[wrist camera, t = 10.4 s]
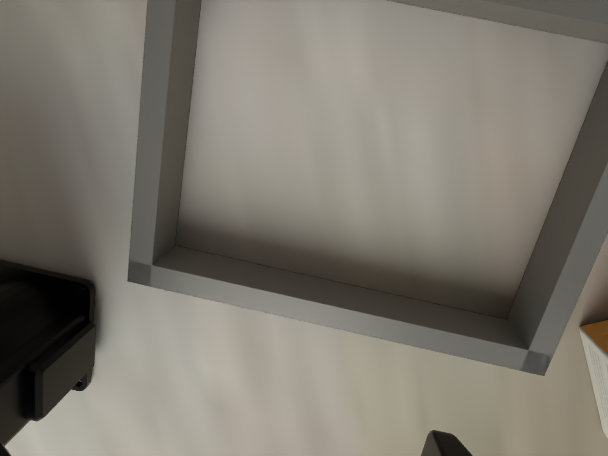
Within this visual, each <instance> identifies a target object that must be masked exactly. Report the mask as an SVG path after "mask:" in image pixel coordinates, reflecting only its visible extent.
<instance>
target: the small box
mask: <svg viewBox="0 0 608 456" xmlns="http://www.w3.org/2000/svg"><path fill="white" fill-rule="evenodd" d="M579 331H580V334H581V339H582V343H583V347H584V351H585V355H586V360H587V364H588V368H589V372H590V376H591V381H592V385H593V390H594V395H595V399H596V403H597V407H598V411H599V415H600V419H601V424H602V429H603V432H604V433H605V435H606V436H607V438H608V320H606V321H601V322H597V323H592V324H588V325H584V326H581V327H580V328H579Z"/></svg>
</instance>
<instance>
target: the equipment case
mask: <svg viewBox="0 0 608 456" xmlns="http://www.w3.org/2000/svg"><path fill="white" fill-rule="evenodd" d="M388 1H393V2H398V3H403V4H408V5H413V6H418V7H423V8H429V9H434V10H439V11H444V12H449V13H454V14H459V15H464V16H469V17H475V18H480V19H485V20H490V21H495V22H500V23H505V24H510V25H515V26H521V27H526V28H531V29H536V30H541V31H546V32H551V33H556V34H561V35H566V36H572V37H577V38H582V39H587V40H592V41H597V42H602V43H607V44H608V0H388ZM200 7H201V0H148V2H147V16H146V30H145V44H144V58H143V72H142V86H141V100H140V114H139V128H138V142H137V156H136V170H135V184H134V198H133V212H132V226H131V240H130V254H129V268H128V282H133V283H137V284H142V285H146V286H150V287H155V288H159V289H164V290H168V291H172V292H177V293H181V294H186V295H190V296H194V297H199V298H203V299H208V300H212V301H216V302H221V303H225V304H230V305H234V306H238V307H243V308H247V309H252V310H256V311H260V312H265V313H269V314H274V315H278V316H282V317H287V318H291V319H296V320H300V321H304V322H309V323H313V324H317V325H322V326H326V327H331V328H335V329H339V330H344V331H348V332H353V333H357V334H361V335H366V336H370V337H375V338H379V339H383V340H388V341H392V342H397V343H401V344H405V345H410V346H414V347H419V348H423V349H427V350H432V351H436V352H441V353H445V354H449V355H454V356H458V357H463V358H467V359H471V360H476V361H480V362H485V363H489V364H493V365H498V366H502V367H507V368H511V369H515V370H520V371H524V372H528V373H533V374H537V375H542V376H544V375H545V373H546V371H547V368H548V366H549V364H550V362H551V359H552V357H553V355H554V353H555V350H556V348H557V346H558V344H559V341H560V339H561V337H562V335H563V332H564V330H565V328H566V326H567V323H568V321H569V319H570V316H571V314H572V312H573V310H574V307H575V305H576V303H577V301H578V298H579V296H580V294H581V292H582V289H583V287H584V285H585V283H586V280H587V278H588V276H589V274H590V271H591V269H592V267H593V265H594V262H595V260H596V258H597V256H598V253H599V251H600V249H601V247H602V244H603V242H604V240H605V238H606V235H607V233H608V62H607V65H606V67H605V70H604V72H603V75H602V77H601V80H600V83H599V85H598V88H597V90H596V93H595V95H594V98H593V100H592V103H591V106H590V108H589V111H588V113H587V116H586V118H585V121H584V123H583V126H582V129H581V131H580V134H579V136H578V139H577V141H576V144H575V146H574V149H573V152H572V154H571V157H570V159H569V162H568V164H567V167H566V169H565V172H564V175H563V177H562V180H561V182H560V185H559V187H558V190H557V192H556V195H555V197H554V200H553V203H552V205H551V208H550V210H549V213H548V215H547V218H546V220H545V223H544V226H543V228H542V231H541V233H540V236H539V238H538V241H537V243H536V246H535V249H534V251H533V254H532V256H531V259H530V261H529V264H528V266H527V269H526V272H525V274H524V277H523V279H522V282H521V284H520V287H519V289H518V292H517V295H516V297H515V300H514V302H513V305H512V307H511V310H510V312H509V315H508V317H507V320H505V319H501V318H496V317H492V316H487V315H483V314H478V313H474V312H469V311H465V310H460V309H456V308H452V307H447V306H443V305H438V304H434V303H429V302H425V301H420V300H416V299H411V298H407V297H402V296H398V295H393V294H389V293H384V292H380V291H375V290H371V289H366V288H362V287H357V286H353V285H348V284H344V283H339V282H335V281H331V280H326V279H322V278H317V277H313V276H308V275H304V274H299V273H295V272H290V271H286V270H281V269H277V268H272V267H268V266H263V265H259V264H254V263H250V262H245V261H241V260H236V259H232V258H227V257H223V256H218V255H214V254H209V253H205V252H201V251H196V250H192V249H187V248H183V247H178V246H175V241H176V232H177V222H178V213H179V204H180V194H181V185H182V176H183V166H184V157H185V148H186V138H187V129H188V119H189V110H190V101H191V91H192V82H193V73H194V63H195V54H196V45H197V35H198V26H199V17H200Z"/></svg>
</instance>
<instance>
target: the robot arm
mask: <svg viewBox="0 0 608 456" xmlns="http://www.w3.org/2000/svg"><path fill="white" fill-rule="evenodd" d="M81 287H82V288H84V290H85V292H86V293H84V292H83V291H82V290H81ZM94 304H95V287H94V285H93V284H92V283H91V282H90V281H88V280H86V279H82V278H77V277H73V276H68V275H64V274H60V273H55V272H51V271H47V270H42V269H38V268H33V267H29V266H25V265H20V264H16V263H11V262H7V261H3V260H0V456H11V455H10V453H9V452H8V451H7V449H6V448H5V445H6V444H7V443H8V442H9V441H10V440H11V439H12V438H13V437H14V436H15V435H16V434H17V433H18V432H19V431H20V430H21V429H22V428H23V427H24V426H25V425H26V424H27V423H28V422H29V421H30V420H33V421H39V420H41V419H42V418H44V417H45V416H46V415H47V414H48V413H49V412H50V411H51V410H52V409H53V408H54V407H55V406H56V405H57V403H58V402H59V401H60V400H61V399H62V398H63V397H64V396H65V395H66V394H67V393H68V392H69V391H70V390H71V389H72V390H76V391H83V390H84V389H85V388H86V387H87V386H88V385H89V384H90V382H91V370H92V367H93V366H94V356H95V335H96V326H95V323H94ZM80 381H81V382H80ZM421 456H472V455H471V453H470V452H469V451H468V450H467V449H466V448H465V447H464V445H463V444H462V443H461V442H460V441H459V440H458V439H457V438H456V437H455V436H454V435H453V434H450V433H446V432H441V431H436V430H433V431H430V433H429V434H428V436H427V439H426V442H425V445H424V448H423V451H422V454H421Z"/></svg>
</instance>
